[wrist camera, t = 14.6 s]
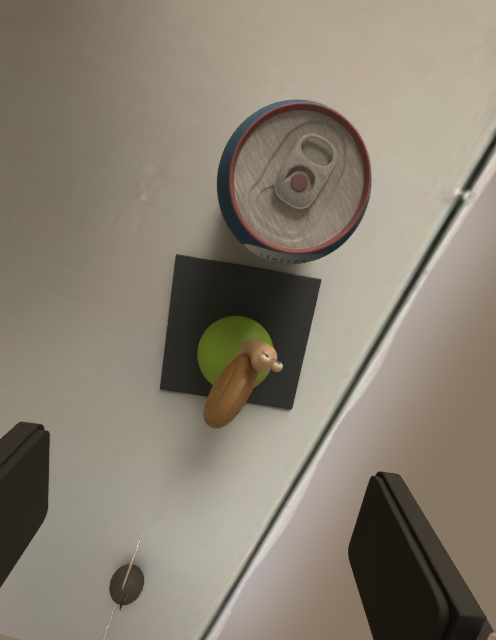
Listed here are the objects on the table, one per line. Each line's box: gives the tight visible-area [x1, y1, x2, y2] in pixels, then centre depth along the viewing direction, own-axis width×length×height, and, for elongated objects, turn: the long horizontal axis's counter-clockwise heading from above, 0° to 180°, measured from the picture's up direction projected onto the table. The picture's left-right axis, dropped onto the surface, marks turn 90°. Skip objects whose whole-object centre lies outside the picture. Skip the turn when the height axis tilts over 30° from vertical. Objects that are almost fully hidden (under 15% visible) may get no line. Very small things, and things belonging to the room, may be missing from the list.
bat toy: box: [103, 533, 144, 640], centre depth 32 cm, size 3×15×5 cm, turn 159°
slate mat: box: [160, 254, 321, 409], centre depth 28 cm, size 11×11×1 cm
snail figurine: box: [197, 316, 283, 428], centre depth 23 cm, size 5×6×12 cm
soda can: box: [217, 100, 371, 264], centre depth 20 cm, size 7×7×12 cm
